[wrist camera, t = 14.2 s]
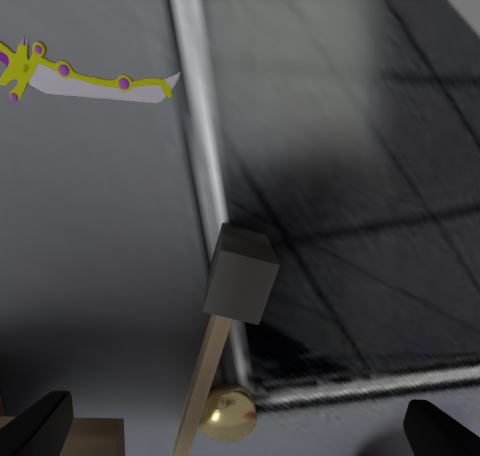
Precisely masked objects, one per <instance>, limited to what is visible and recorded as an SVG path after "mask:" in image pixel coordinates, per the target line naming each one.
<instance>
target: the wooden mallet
mask: <svg viewBox="0 0 480 456" xmlns="http://www.w3.org/2000/svg"><path fill="white" fill-rule="evenodd" d="M279 266H280V264H279V262H278V260H277V257H276V255H275V253H274V251H273V248H272V246H271V244H270V242H269V239H268V237H267V235H265V234H262V233H258V232H254V231H251V230H247V229H243V228H240V227H236V226H232V225H229V224H225V223H222V227H221V230H220V234H219V237H218V241H217V244H216V248H215V251H214V255H213V258H212V262H211V265H210V269H209V273H208V280H207V287H206V293H205V300H204V307H203V312H204V313H209V314H211V316H210V319H209V323H208V326H207V329H206V333H205V336H204V339H203V343H202V346H201V349H200V353H199V356H198V359H197V363H196V366H195V369H194V373H193V376H192V379H191V382H190V386H189V389H188V392H187V396H186V399H185V402H184V406H183V409H182V412H181V416H180V419H179V424H178V429H177V435H176V441H175V446H174V452H173V456H188V455H189V452H190V449H191V446H192V443H193V440H194V437H195V434H196V431H197V428H198V424H199V421H200V418H201V415H202V412H203V409H204V406H205V403H206V400H207V397H208V394H209V391H210V388H211V385H212V381H213V378H214V375H215V372H216V369H217V366H218V363H219V360H220V357H221V354H222V351H223V348H224V345H225V342H226V339H227V335H228V332H229V329H230V326H231V323H232V320H233V319H235V320H239V321H244V322H248V323H252V324H257V325H259V323H260V320H261V317H262V314H263V312H264V309H265V306H266V303H267V300H268V297H269V295H270V292H271V289H272V286H273V283H274V281H275V278H276V275H277V272H278V269H279Z"/></svg>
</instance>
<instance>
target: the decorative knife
mask: <svg viewBox="0 0 480 456" xmlns="http://www.w3.org/2000/svg"><path fill="white" fill-rule="evenodd" d="M28 50H29V47H28V39H27V41H26V43H25V45H24V37H23V39H22V42H21V44H19V46H18V49H17V52H16V53H13V52H12V51H11V50H10V49H9V48H8V47H7V46H5V45H4V44H3V43H1V42H0V60H1V61H2V62H3V63H4V64H5V65H6V66H7V69H6V70H5V71H4V73H3V75H2V76H1V78H0V83H1V85H4V86H6V85H7V84H8V83H9V82H10V81H11V80H14V79H15V80H18V83H17V86H16V87H15V88H14V89H13V90H12V91H11V92H10V94H9V96H10V99H12V100H13V101H17V100H18V99H20V98H21V95H22V93H23V92H24V90H25V88H26V86H27V84H28V83H29V84H30V85H32V86H33V87H35V88H37V89H39V90H41V91H43V92H45V93H46V94H57V95H68V96H80V97H92V98H103V99H115V100H127V101H138V102H150V103H160V102H161V101H162V100H163V99H164V98H165V97H168V98H171V97H172V92H171V90H172V89H173V87H174V86H175V84H176V82H177V81H178V79H179V76H180V73H181V72H180V73H178V74H176V75H174V76H171V77H169V78H167V79H165V80H162V79H160V78H147V79H142V80H138V81H132V80H131V79H130V78H129V77H128V76H127V75H123V74H122V75H120V76H119V77H118V78H117V79H116V80H103V79H100V78H97V77H88V76H84V75H81V74H78V73H76V72H74V71H73V69H72V67H71V66H70V64H69V63H67V62H65V61H59V62H57V63H53V62H51V61H49V60H47V59H45V58H43V56H44V55H45V53H46V49H45V47H44V45H43V44H42V43H40V42H35V43H34V44H33V49H32V55H31V57H30V59H29V58H28Z"/></svg>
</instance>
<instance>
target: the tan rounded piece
mask: <svg viewBox="0 0 480 456" xmlns="http://www.w3.org/2000/svg"><path fill="white" fill-rule="evenodd" d="M255 424H256V409H255V400H254V397H253V395H252V394H251V392H250V391H249V390H248V389H247V388H245V387H244V386H241V385H239V384H235V383H221V384H217V385H215V386H212V387H211V388H210V391H209V394H208V397H207V400H206V403H205V406H204V409H203V412H202V415H201V418H200V421H199V424H198V425H199V428H200V430H201V431H202V432H203V434H205V435H206V436H207V437H209V438H210V439H213V440H215V441H220V442H232V441H237V440H240V439H242V438H244V437H245V436H247V435H248V434H249V433H250V432H251V431H252V430H253V428H254V427H255Z"/></svg>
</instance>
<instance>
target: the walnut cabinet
mask: <svg viewBox="0 0 480 456" xmlns="http://www.w3.org/2000/svg"><path fill="white" fill-rule="evenodd" d="M14 418H15V417H5V414H4V409H3V403H2V398H1V393H0V428H2V427H3V426H4V425H6V424H7V423H8V422H10V421H11V420H13V419H14ZM60 456H125V441H124V419H112V418H73V422H72V426H71V428H70V431H69V433H68V436H67V438H66V441H65V443H64V446H63V448H62V451H61V453H60Z"/></svg>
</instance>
